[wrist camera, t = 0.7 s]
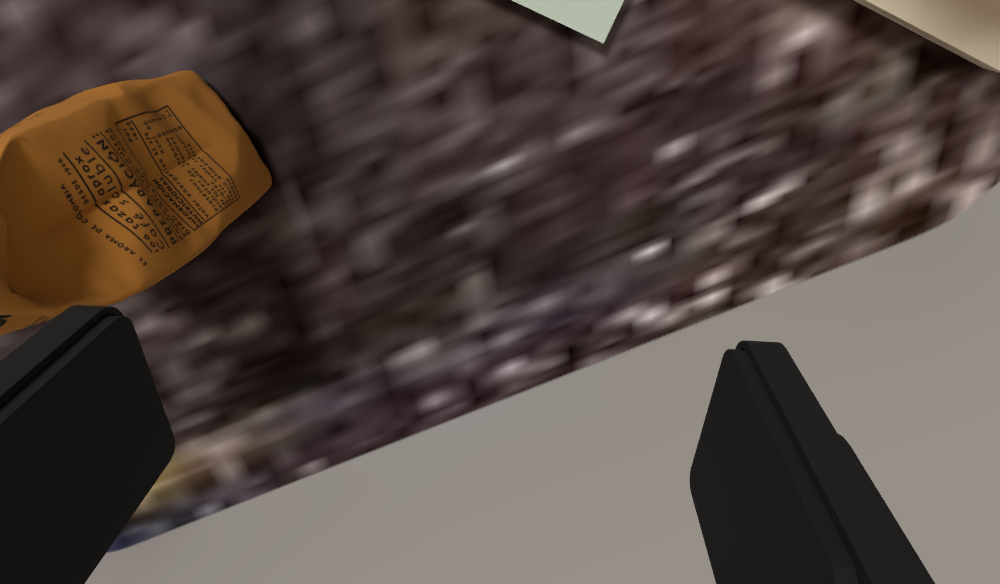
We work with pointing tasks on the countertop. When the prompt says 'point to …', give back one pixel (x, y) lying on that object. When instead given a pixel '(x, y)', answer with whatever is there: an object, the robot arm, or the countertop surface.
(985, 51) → the tan flat rectangular frame
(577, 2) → the sage tile
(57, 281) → the coffee package
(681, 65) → the countertop surface
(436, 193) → the countertop surface
